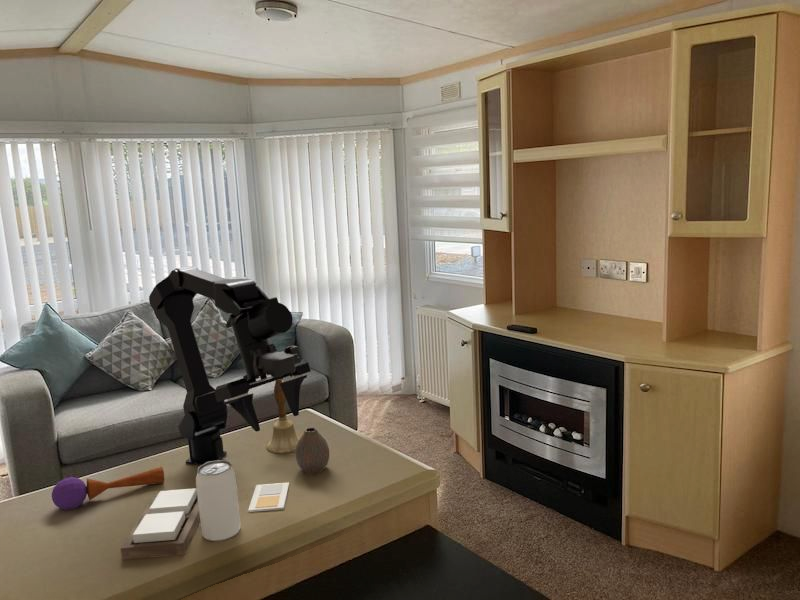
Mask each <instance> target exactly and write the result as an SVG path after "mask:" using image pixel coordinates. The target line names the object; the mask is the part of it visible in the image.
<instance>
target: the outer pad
mask: <svg viewBox="0 0 800 600" xmlns="http://www.w3.org/2000/svg"><path fill="white" fill-rule="evenodd" d="M185 515H186V514H185V512H184V511H180V512H168V513H156V514H146V515H145V516H144V518H143V519H142V521H141V522H140V524H139V526H138V527H137V529H136V530H135V532H134V533H133V540H134V543H139V544H142V543H153V542H161V541H162V542H165V541H171V540H172V541H176V539H177V536H179V535H178V534H179V533H180V530H181V527H182V525H183V523H184V521H185Z"/></svg>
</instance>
